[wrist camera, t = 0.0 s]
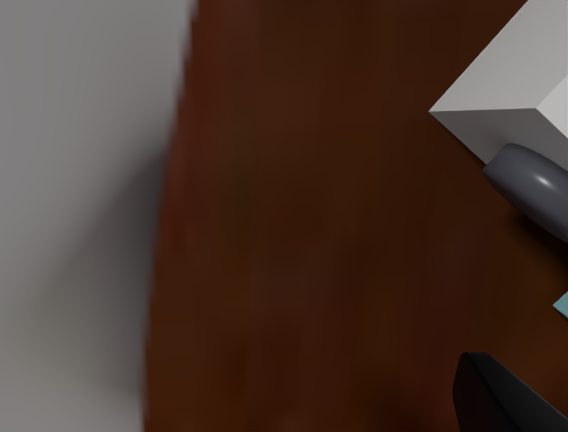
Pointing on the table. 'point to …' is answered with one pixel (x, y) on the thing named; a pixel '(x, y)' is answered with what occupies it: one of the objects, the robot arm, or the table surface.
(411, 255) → the table surface
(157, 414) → the table surface
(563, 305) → the side door
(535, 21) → the camera body
